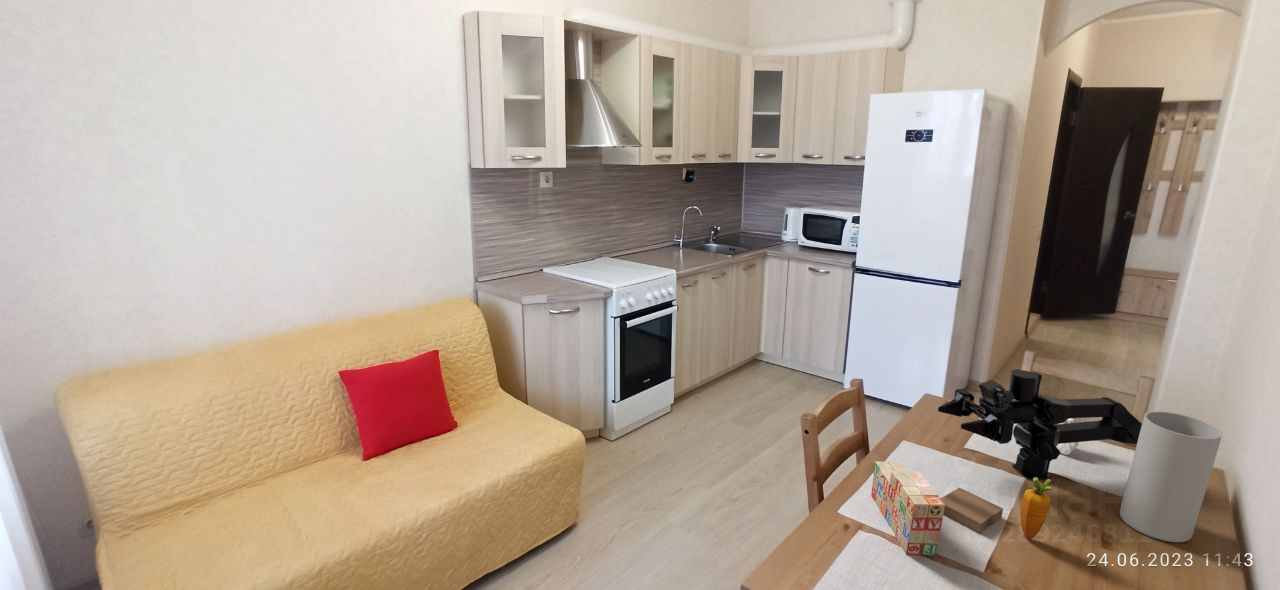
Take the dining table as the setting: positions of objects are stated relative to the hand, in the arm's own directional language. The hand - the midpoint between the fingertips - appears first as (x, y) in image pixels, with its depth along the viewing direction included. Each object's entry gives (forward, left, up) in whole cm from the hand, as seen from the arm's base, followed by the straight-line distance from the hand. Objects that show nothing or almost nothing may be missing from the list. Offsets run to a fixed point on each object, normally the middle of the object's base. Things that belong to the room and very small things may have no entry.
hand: (949, 417), depth 147 cm
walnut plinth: (+2, +15, -17) cm, 23 cm away
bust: (-41, -15, -17) cm, 47 cm away
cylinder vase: (-38, +20, -17) cm, 46 cm away
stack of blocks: (+19, +18, -17) cm, 31 cm away
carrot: (-6, +24, -17) cm, 30 cm away
